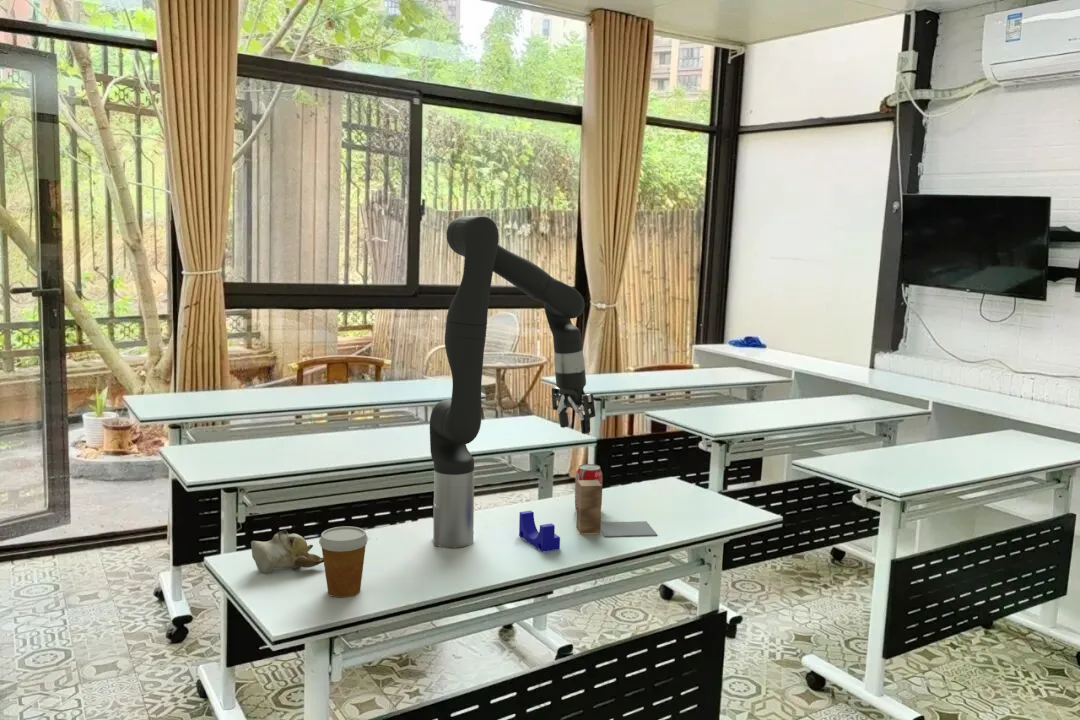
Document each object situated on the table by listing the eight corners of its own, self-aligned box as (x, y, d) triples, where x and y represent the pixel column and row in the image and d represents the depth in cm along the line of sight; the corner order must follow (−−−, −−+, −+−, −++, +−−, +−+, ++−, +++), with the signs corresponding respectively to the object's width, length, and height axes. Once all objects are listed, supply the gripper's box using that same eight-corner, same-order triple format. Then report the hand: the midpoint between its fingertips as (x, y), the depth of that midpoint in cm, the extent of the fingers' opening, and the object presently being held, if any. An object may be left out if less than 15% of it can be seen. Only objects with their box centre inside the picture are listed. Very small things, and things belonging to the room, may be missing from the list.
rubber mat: (604, 537, 210) (604, 535, 210) (595, 523, 220) (595, 522, 220) (657, 535, 212) (657, 534, 212) (646, 522, 222) (646, 521, 222)
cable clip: (559, 549, 202) (560, 524, 201) (542, 552, 200) (543, 527, 199) (535, 533, 212) (536, 509, 211) (519, 536, 210) (519, 512, 209)
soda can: (570, 508, 232) (571, 464, 231) (595, 506, 234) (597, 462, 233) (579, 516, 226) (581, 471, 224) (605, 514, 228) (607, 469, 226)
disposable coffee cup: (309, 593, 174) (308, 534, 172) (344, 578, 182) (344, 522, 180) (343, 605, 169) (342, 545, 167) (378, 589, 177) (378, 531, 175)
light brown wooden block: (580, 534, 212) (581, 486, 210) (576, 527, 217) (577, 480, 215) (600, 533, 213) (601, 485, 211) (596, 527, 218) (597, 480, 216)
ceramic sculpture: (244, 526, 186) (313, 519, 195) (242, 565, 187) (311, 557, 196) (259, 541, 177) (330, 533, 186) (257, 583, 178) (328, 573, 187)
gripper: (540, 367, 223) (546, 428, 227) (576, 375, 212) (581, 439, 216) (563, 361, 228) (569, 421, 231) (599, 368, 217) (604, 431, 220)
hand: (575, 430), depth 224 cm, fingers open, 8 cm apart
